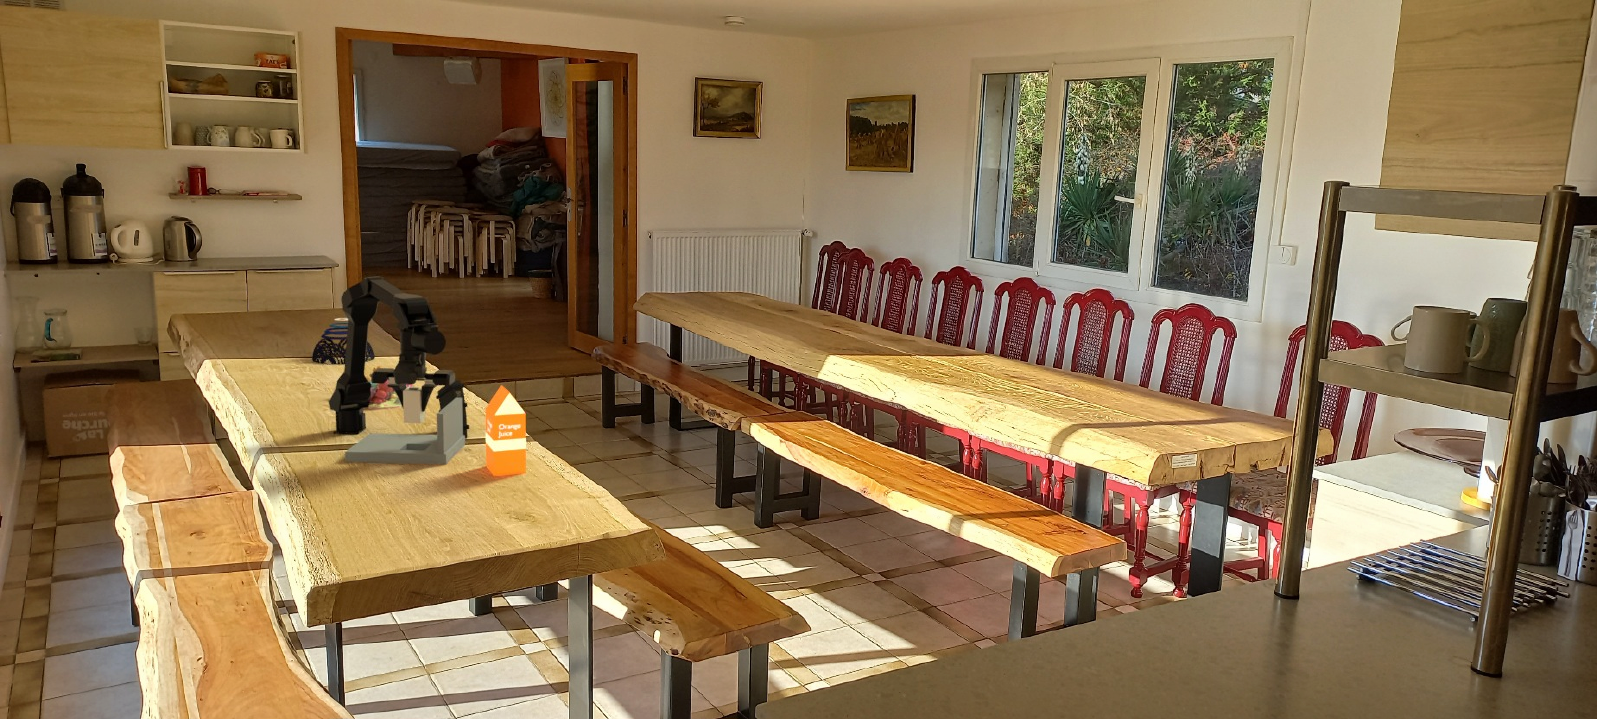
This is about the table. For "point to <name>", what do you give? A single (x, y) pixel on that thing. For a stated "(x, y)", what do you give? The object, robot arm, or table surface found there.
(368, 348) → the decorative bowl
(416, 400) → the block
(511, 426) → the orange juice
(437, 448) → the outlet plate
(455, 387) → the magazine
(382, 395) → the candy landscape model
